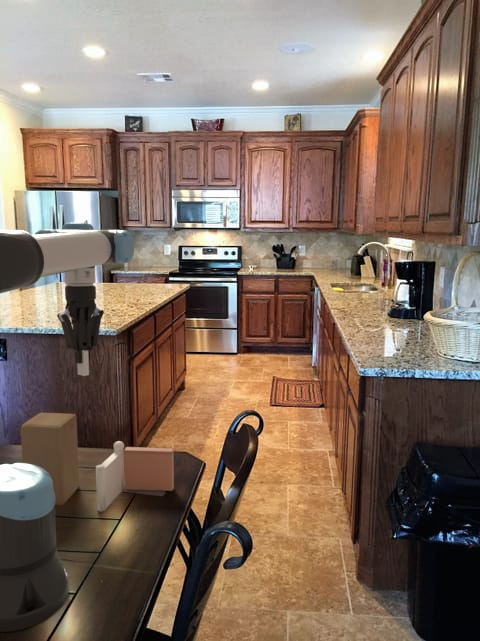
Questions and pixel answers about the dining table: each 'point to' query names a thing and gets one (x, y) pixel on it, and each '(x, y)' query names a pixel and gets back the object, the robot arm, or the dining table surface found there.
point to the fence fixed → (110, 477)
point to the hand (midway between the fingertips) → (83, 374)
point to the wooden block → (53, 450)
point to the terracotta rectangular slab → (149, 468)
